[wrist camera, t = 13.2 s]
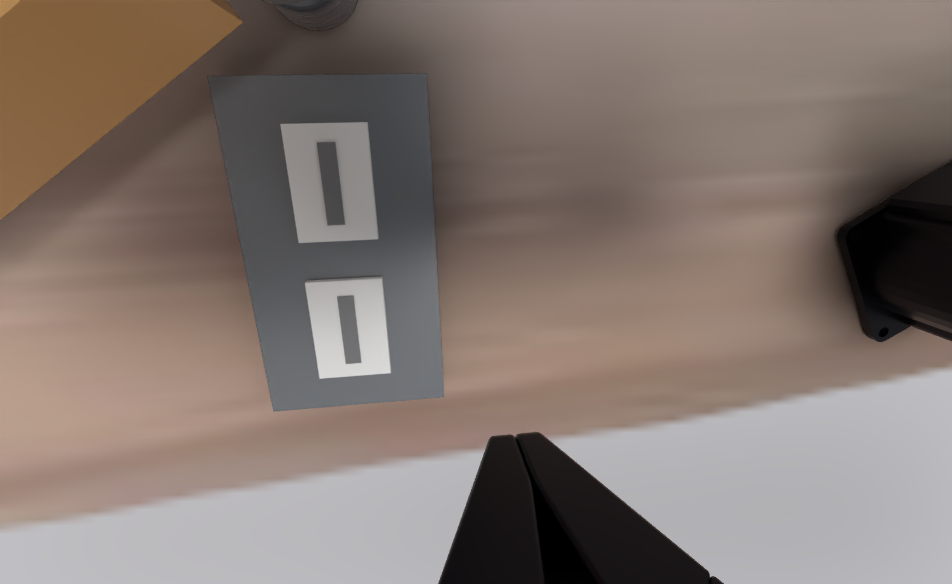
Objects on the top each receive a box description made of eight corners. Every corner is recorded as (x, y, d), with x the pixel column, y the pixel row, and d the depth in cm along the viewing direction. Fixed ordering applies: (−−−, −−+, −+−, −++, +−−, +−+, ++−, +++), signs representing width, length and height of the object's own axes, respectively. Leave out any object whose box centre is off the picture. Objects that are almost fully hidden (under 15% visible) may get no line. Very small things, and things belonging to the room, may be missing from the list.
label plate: (220, 79, 15) (201, 73, 14) (426, 77, 16) (426, 72, 15) (280, 398, 19) (270, 416, 18) (442, 384, 20) (444, 401, 19)
